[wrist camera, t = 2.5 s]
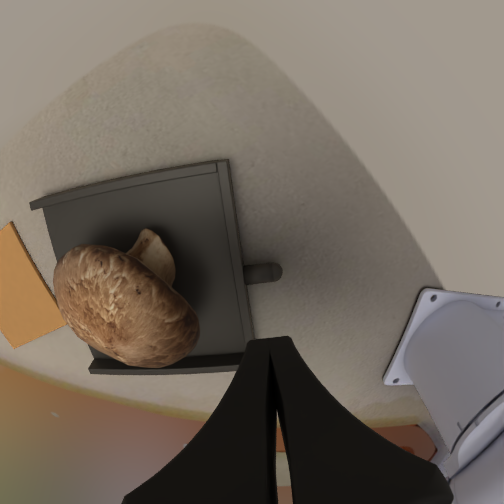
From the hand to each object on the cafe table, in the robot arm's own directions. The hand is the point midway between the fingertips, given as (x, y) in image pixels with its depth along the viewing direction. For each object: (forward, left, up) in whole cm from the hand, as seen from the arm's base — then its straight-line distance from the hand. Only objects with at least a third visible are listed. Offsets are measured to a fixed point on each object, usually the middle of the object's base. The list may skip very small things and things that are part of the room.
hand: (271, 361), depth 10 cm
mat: (+18, +5, -8) cm, 20 cm away
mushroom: (+7, +2, -8) cm, 11 cm away
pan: (+5, +2, -8) cm, 10 cm away
